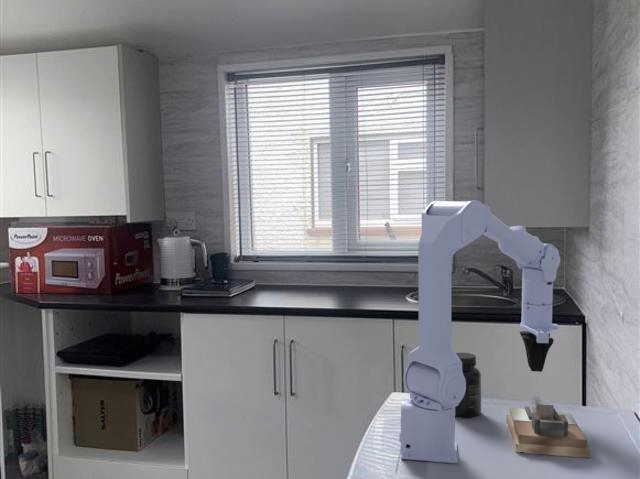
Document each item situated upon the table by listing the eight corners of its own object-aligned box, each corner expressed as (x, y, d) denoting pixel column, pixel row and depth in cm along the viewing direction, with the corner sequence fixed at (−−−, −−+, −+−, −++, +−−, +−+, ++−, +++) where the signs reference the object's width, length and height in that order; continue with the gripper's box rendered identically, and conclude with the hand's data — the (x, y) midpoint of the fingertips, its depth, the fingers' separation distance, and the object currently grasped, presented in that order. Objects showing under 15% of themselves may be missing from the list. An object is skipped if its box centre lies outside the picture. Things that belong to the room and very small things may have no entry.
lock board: (515, 452, 97) (516, 421, 97) (506, 422, 110) (507, 394, 110) (590, 458, 95) (591, 426, 95) (571, 426, 108) (572, 398, 107)
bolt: (535, 419, 104) (536, 404, 103) (531, 408, 108) (531, 394, 108) (553, 420, 103) (553, 405, 103) (547, 409, 108) (548, 395, 108)
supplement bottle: (477, 406, 118) (478, 351, 117) (483, 419, 111) (484, 360, 110) (444, 405, 119) (445, 350, 118) (448, 418, 112) (449, 360, 111)
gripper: (566, 310, 104) (564, 382, 105) (550, 296, 118) (549, 359, 119) (526, 309, 105) (525, 380, 107) (515, 295, 120) (514, 357, 121)
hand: (535, 369), depth 113 cm, fingers closed
